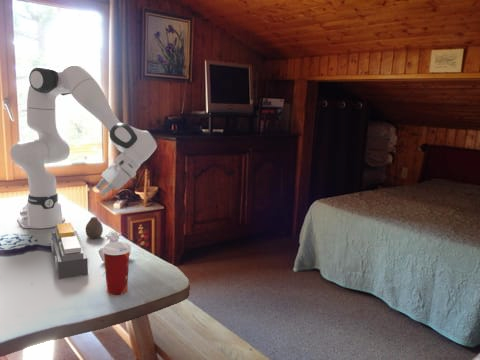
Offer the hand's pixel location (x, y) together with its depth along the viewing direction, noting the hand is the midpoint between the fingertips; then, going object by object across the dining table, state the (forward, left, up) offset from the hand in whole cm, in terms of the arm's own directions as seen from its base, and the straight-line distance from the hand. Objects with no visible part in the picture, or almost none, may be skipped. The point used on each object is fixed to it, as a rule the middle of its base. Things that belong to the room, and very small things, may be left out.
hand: (99, 191), depth 155 cm
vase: (-12, +4, -23) cm, 27 cm away
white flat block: (+12, -18, -15) cm, 26 cm away
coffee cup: (+36, -15, -23) cm, 45 cm away
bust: (+13, -2, -23) cm, 27 cm away
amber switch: (-4, -12, -15) cm, 20 cm away
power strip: (+4, -15, -23) cm, 28 cm away
